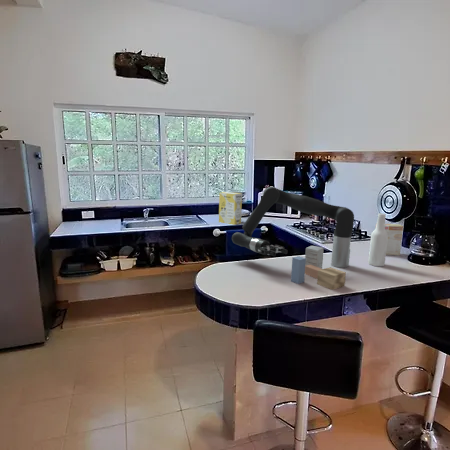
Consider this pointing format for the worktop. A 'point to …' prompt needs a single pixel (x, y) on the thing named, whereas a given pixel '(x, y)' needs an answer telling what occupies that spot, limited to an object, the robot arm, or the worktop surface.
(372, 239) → the alcohol
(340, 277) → the oak base block
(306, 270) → the terracotta block
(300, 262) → the blue post block
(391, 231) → the coffeecake box
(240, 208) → the pasta box
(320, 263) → the grey upright block
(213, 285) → the worktop surface
